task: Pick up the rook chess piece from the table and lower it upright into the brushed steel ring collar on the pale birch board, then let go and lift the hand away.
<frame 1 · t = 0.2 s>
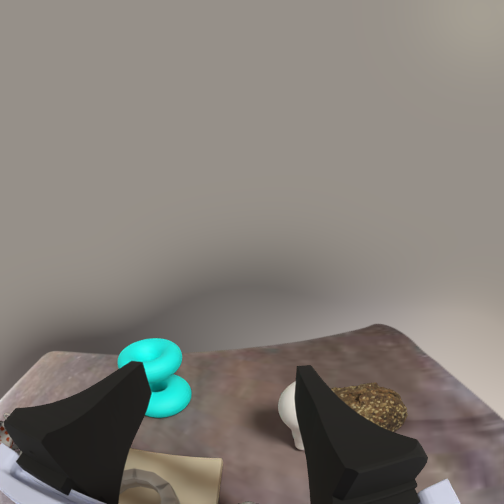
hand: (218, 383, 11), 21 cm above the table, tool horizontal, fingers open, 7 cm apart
bread roll: (363, 416, 30), on the table
lightbulb: (304, 447, 26), on the table
donuts: (163, 402, 37), on the table
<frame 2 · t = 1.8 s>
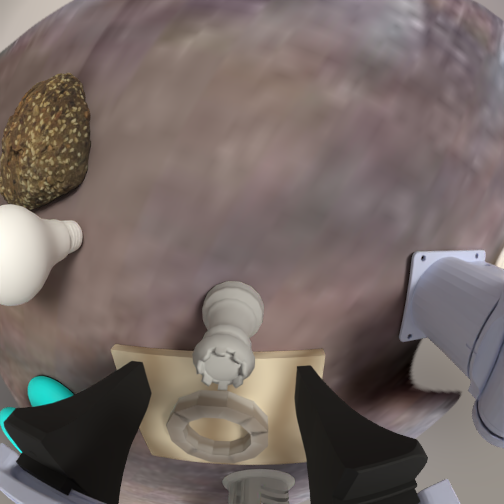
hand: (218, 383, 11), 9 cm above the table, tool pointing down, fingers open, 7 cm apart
bread roll: (46, 139, 18), on the table
rook chess piece: (234, 306, 20), on the table
lightbulb: (78, 233, 19), on the table
donuts: (64, 402, 24), on the table
ring board: (220, 416, 22), on the table
french press: (254, 481, 26), on the table
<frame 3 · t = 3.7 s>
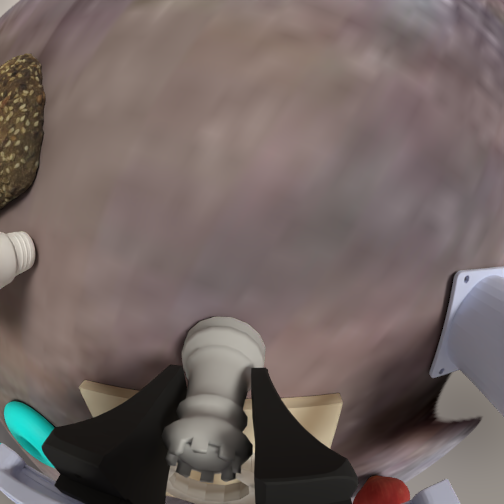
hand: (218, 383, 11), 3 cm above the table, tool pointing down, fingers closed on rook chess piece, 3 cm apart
bread roll: (3, 133, 12), on the table
rook chess piece: (225, 346, 15), on the table, touching gripper
lightbulb: (33, 247, 14), on the table
donuts: (43, 428, 18), on the table
ring board: (213, 460, 17), on the table
pomegranate: (372, 475, 18), on the table
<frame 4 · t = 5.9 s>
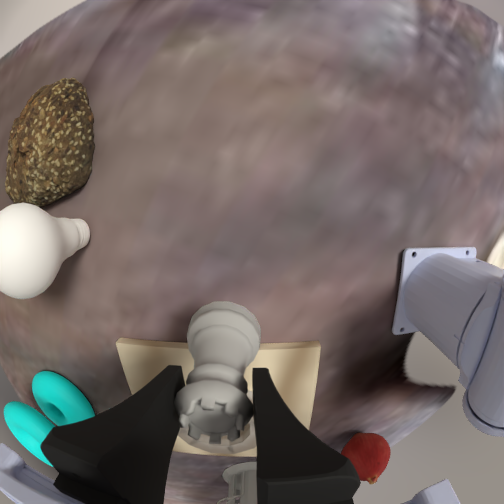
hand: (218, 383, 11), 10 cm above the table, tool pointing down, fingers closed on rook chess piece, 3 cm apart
bread roll: (51, 141, 19), on the table
rook chess piece: (225, 329, 17), point 5 cm above the table, touching gripper
lightbulb: (85, 231, 20), on the table
donuts: (68, 396, 25), on the table
ring board: (220, 407, 24), on the table
pomegranate: (356, 433, 25), on the table
french press: (253, 474, 27), on the table
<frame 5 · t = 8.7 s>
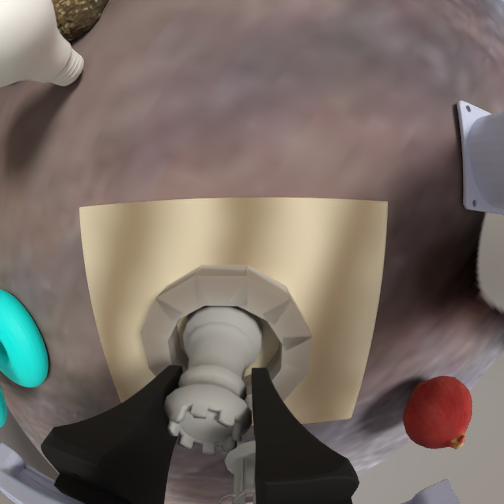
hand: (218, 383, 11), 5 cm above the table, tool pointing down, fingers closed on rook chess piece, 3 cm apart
bread roll: (61, 14, 11), on the table
rook chess piece: (224, 327, 15), point 1 cm above the table, touching gripper, ring board
lightbulb: (77, 74, 13), on the table
donuts: (20, 333, 18), on the table
ring board: (229, 330, 16), on the table
pomegranate: (418, 384, 18), on the table
french press: (270, 459, 20), on the table
when the fingers open (5 cm above the table, at t = 9.3 s): rook chess piece stays where it is, resting on ring board.
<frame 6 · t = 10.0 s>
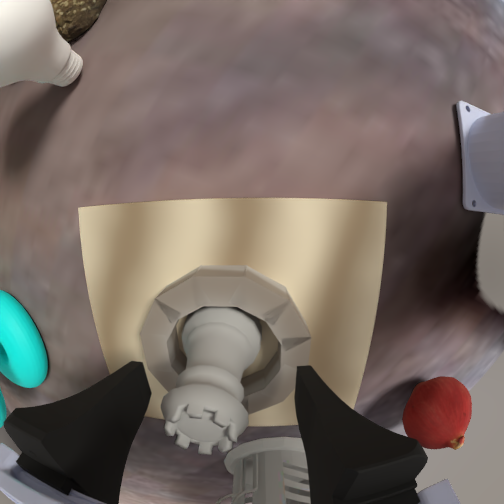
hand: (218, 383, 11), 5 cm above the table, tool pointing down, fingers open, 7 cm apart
bread roll: (60, 14, 11), on the table
rook chess piece: (223, 327, 15), point 1 cm above the table, touching ring board
lightbulb: (76, 75, 13), on the table
donuts: (19, 333, 18), on the table
ring board: (228, 331, 16), on the table
pomegranate: (417, 385, 18), on the table
french press: (269, 459, 20), on the table
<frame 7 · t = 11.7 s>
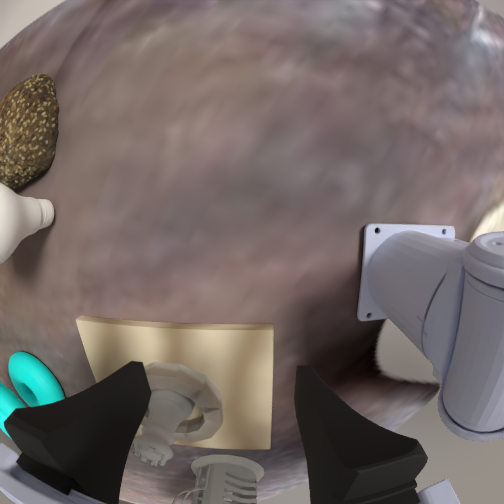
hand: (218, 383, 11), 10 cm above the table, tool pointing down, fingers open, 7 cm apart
bread roll: (25, 131, 18), on the table
rook chess piece: (173, 393, 22), point 1 cm above the table, touching ring board
lightbulb: (51, 212, 20), on the table
donuts: (41, 379, 24), on the table
ring board: (178, 392, 23), on the table
french press: (222, 468, 26), on the table
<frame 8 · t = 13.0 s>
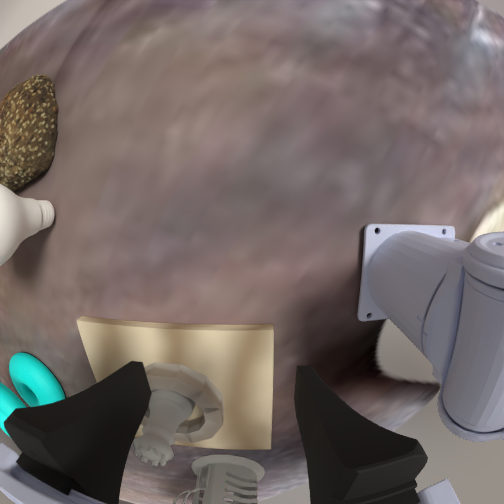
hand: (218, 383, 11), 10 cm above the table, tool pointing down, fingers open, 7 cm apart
bread roll: (25, 132, 18), on the table
rook chess piece: (174, 393, 22), point 1 cm above the table, touching ring board
lightbulb: (52, 212, 20), on the table
donuts: (42, 379, 24), on the table
ring board: (179, 393, 23), on the table
french press: (223, 468, 26), on the table
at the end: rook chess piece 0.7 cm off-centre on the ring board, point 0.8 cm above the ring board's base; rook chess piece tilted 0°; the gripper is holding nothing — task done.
